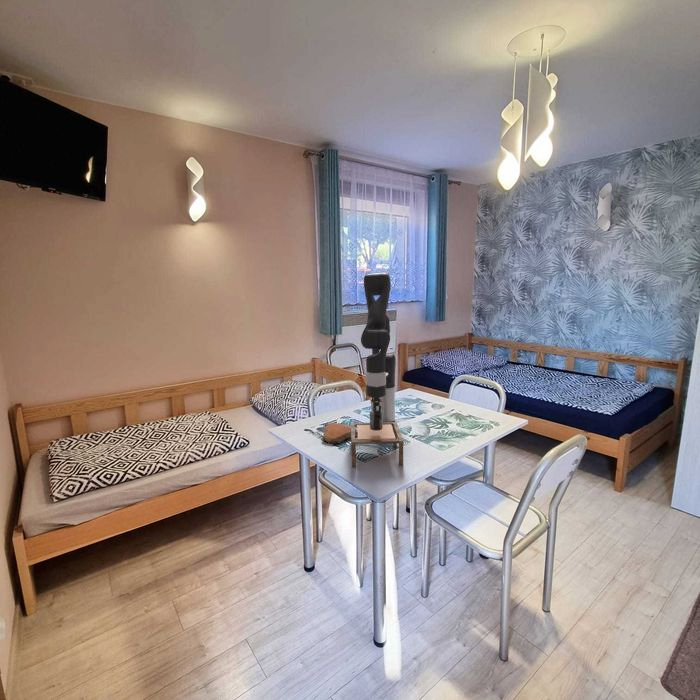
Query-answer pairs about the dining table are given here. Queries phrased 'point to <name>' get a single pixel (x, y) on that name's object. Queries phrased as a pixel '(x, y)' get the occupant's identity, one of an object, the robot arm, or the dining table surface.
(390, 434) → the trapdoor
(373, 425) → the cylinder
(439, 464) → the dining table surface
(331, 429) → the reddish brown rock
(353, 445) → the trapdoor frame
